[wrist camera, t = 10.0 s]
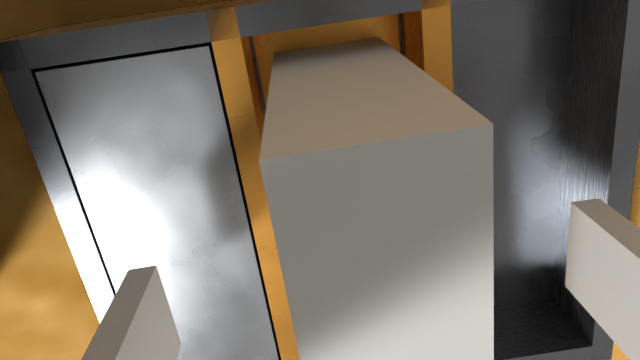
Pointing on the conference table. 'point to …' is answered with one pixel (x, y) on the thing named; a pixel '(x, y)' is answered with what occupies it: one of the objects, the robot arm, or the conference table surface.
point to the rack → (246, 135)
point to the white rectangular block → (379, 206)
